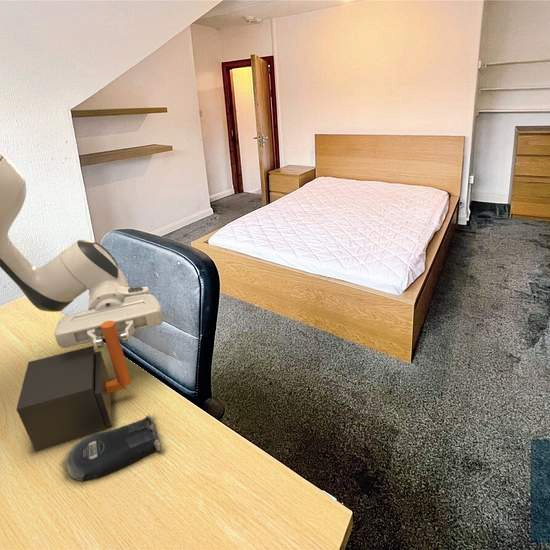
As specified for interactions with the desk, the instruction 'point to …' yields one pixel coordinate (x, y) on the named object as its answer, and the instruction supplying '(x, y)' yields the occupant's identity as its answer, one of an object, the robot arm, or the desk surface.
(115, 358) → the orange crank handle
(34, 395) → the brown drawer cube
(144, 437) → the electronic device
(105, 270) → the robot arm
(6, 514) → the desk surface
